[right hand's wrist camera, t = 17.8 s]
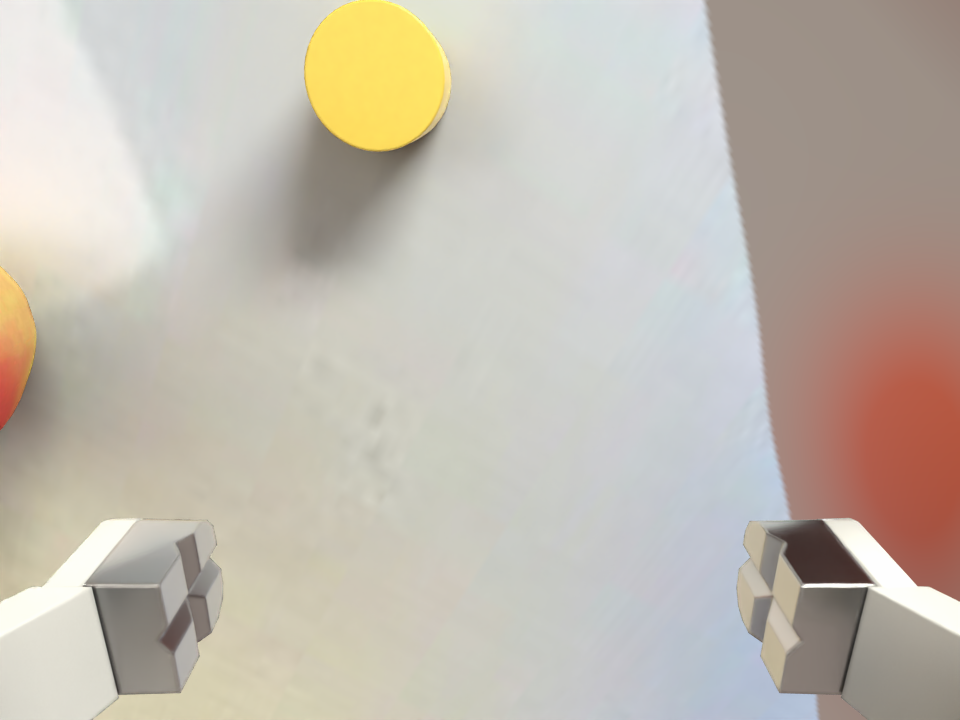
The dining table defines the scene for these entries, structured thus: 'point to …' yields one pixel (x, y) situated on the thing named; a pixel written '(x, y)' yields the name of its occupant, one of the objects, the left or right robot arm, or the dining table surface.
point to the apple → (14, 345)
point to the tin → (376, 75)
